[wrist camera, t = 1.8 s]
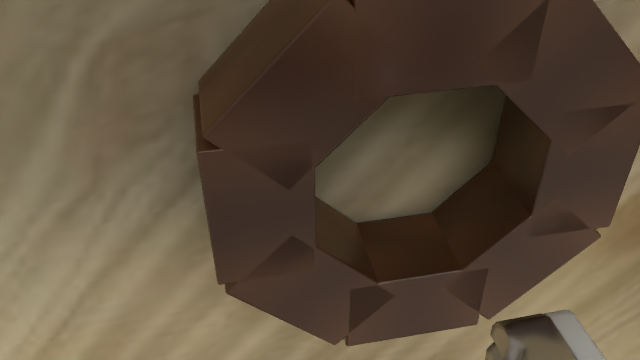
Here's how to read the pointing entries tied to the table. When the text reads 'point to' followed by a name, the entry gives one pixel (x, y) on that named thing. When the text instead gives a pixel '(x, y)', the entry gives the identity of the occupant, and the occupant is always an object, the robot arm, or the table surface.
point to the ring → (455, 213)
